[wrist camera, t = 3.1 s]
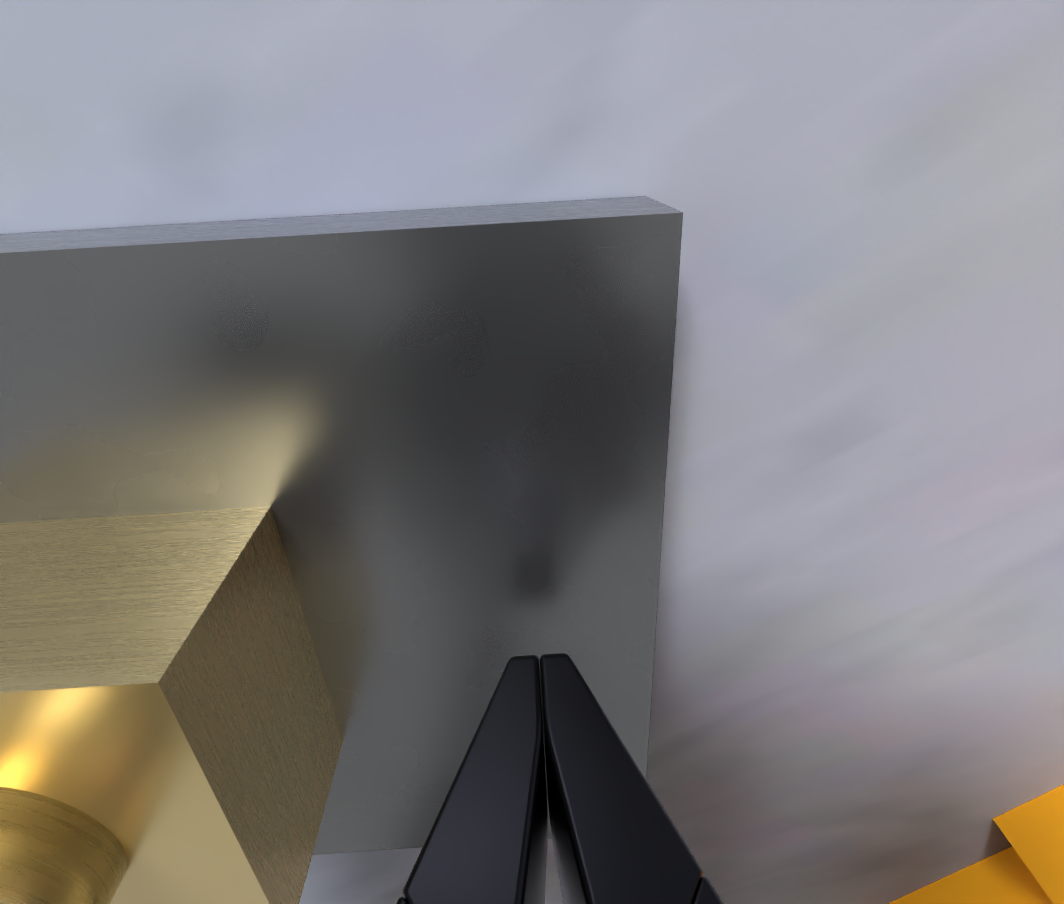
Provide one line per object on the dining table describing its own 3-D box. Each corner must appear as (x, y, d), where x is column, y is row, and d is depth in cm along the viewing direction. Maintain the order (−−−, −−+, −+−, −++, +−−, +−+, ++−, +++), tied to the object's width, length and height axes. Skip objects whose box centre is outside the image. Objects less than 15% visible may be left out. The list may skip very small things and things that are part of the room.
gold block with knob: (343, 740, 11) (225, 1173, 6) (61, 758, 11) (-259, 1207, 6) (270, 506, 8) (-7, 937, 4) (-93, 529, 8) (-795, 989, 4)
